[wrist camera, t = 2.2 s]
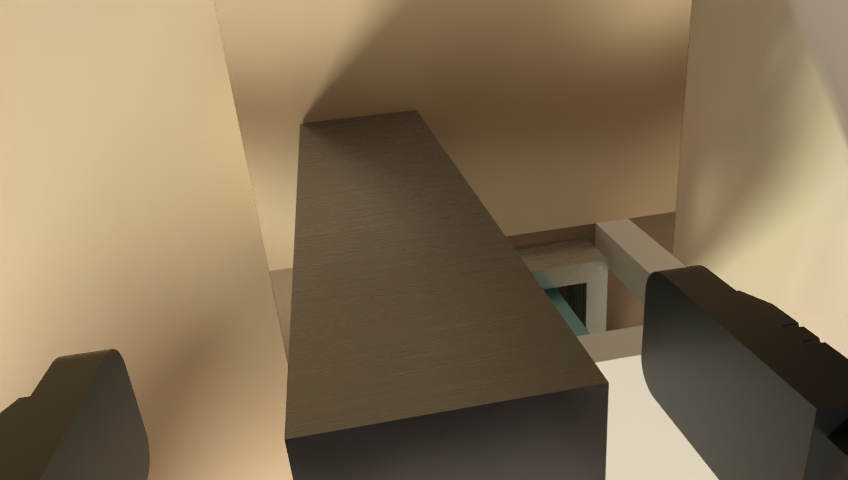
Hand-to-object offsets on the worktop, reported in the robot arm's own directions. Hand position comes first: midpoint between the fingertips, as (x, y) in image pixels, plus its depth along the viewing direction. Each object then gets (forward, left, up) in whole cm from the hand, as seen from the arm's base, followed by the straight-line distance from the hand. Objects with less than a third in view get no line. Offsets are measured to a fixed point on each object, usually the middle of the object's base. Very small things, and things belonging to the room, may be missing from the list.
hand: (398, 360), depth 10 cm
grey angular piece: (+3, +3, -8) cm, 9 cm away
